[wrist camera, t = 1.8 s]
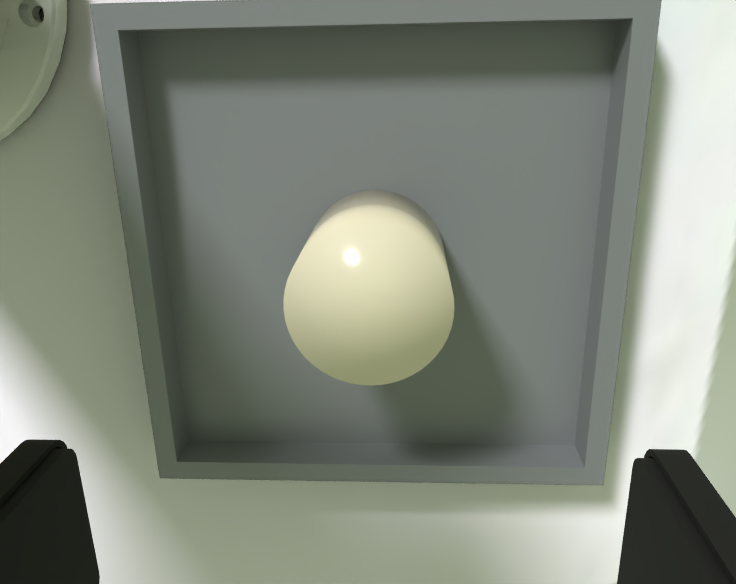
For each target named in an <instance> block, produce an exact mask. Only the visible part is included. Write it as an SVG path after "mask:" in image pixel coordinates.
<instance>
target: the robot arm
mask: <svg viewBox="0 0 736 584" xmlns="http://www.w3.org/2000/svg"><path fill="white" fill-rule="evenodd" d="M41 8H43V12H44V19H43V21H42V20H41V19H40V17H39V11H40V9H41ZM66 30H67V0H0V140H1V139H3V138H5V137H7V136H8V135H10V134H11V133H12V132H13V131H14V130H15V129H16V128H17V127H19V126H20V125H21V124H22V123H23V122H24V121H25V120H26V119H28V118H29V117H30V115H31V114H32V113H33V111H34V110H35V108H36V107H37V106H38V104H39V103H40V101H41V100H42V99H43V97H44V96H45V94H46V93H47V91H48V89H49V87H50V84H51V82H52V80H53V77H54V75H55V73H56V70H57V68H58V66H59V63H60V59H61V54H62V49H63V44H64V40H65V35H66ZM99 578H100V577H99V570H98V565H97V559H96V554H95V549H94V544H93V539H92V534H91V528H90V523H89V518H88V513H87V508H86V503H85V497H84V492H83V487H82V482H81V477H80V472H79V466H78V461H77V457H76V453H75V452H74V450H72V449H67V446H66V444H65V443H64V442H63V441H61V440H25V441H24V442H22V443H21V444H20V445H19V446H18V447H17V448H16V449H15V450H14V451H13V452H12V453H11V454H10V455H9V456H8V457H7V458H6V459H5V460H4V461H3V462H2V463H1V464H0V584H99ZM617 584H736V518H735V516H734V515H733V513H732V512H731V511H730V509H729V508H728V506H727V505H726V504H725V502H724V501H723V500H722V498H721V497H720V495H719V494H718V493H717V491H716V490H715V488H714V487H713V485H712V484H711V483H710V481H709V480H708V478H707V477H706V476H705V474H704V473H703V472H702V470H701V469H700V467H699V466H698V465H697V463H696V462H695V460H694V459H693V458H692V456H691V455H690V454H689V453H688V452H687V451H686V450H664V449H649V450H648V451H647V452H646V454H645V456H644V458H637V459H635V461H634V463H633V468H632V475H631V483H630V491H629V498H628V506H627V513H626V521H625V528H624V536H623V543H622V551H621V558H620V566H619V573H618V581H617Z"/></svg>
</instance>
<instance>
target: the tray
mask: <svg viewBox="0 0 736 584" xmlns="http://www.w3.org/2000/svg"><path fill="white" fill-rule="evenodd" d="M661 1H662V0H222V1H182V2H143V3H103V4H90V7H91V14H92V21H93V28H94V35H95V41H96V48H97V55H98V62H99V68H100V75H101V82H102V89H103V96H104V102H105V109H106V116H107V123H108V130H109V136H110V143H111V150H112V157H113V163H114V170H115V177H116V184H117V191H118V197H119V204H120V211H121V218H122V224H123V231H124V238H125V245H126V252H127V258H128V265H129V272H130V279H131V285H132V292H133V299H134V306H135V313H136V319H137V326H138V333H139V340H140V347H141V353H142V360H143V367H144V374H145V380H146V387H147V394H148V401H149V408H150V414H151V421H152V428H153V435H154V441H155V448H156V455H157V462H158V469H159V475H160V478H182V479H245V480H307V481H369V482H431V483H494V484H556V485H603V484H604V475H605V467H606V459H607V450H608V442H609V434H610V425H611V417H612V409H613V400H614V392H615V384H616V375H617V367H618V359H619V350H620V342H621V334H622V325H623V317H624V309H625V300H626V292H627V284H628V275H629V267H630V259H631V250H632V242H633V234H634V225H635V217H636V209H637V200H638V192H639V184H640V176H641V167H642V159H643V151H644V142H645V134H646V126H647V117H648V109H649V101H650V92H651V84H652V76H653V67H654V59H655V51H656V42H657V34H658V26H659V17H660V9H661ZM368 190H384V191H390V192H394V193H397V194H400V195H403V196H405V197H407V198H409V199H411V200H412V201H414V202H415V203H417V204H418V205H419V206H420V207H422V208H423V209H424V210H425V211H426V212H427V213H428V214H429V215H430V217H431V218H432V220H433V221H434V223H435V224H436V226H437V228H438V230H439V233H440V236H441V238H442V243H443V248H444V253H445V257H446V262H447V267H448V272H449V277H450V281H451V286H452V291H453V296H454V319H453V323H452V328H451V331H450V333H449V336H448V338H447V340H446V342H445V344H444V346H443V348H442V349H441V350H440V352H439V353H438V354H437V356H436V357H435V358H434V359H433V360H432V361H431V362H430V363H429V364H428V365H427V366H425V367H424V368H423V369H422V370H420V371H418V372H417V373H415V374H414V375H412V376H410V377H407V378H405V379H403V380H400V381H397V382H394V383H389V384H384V385H372V386H370V385H358V384H352V383H348V382H344V381H341V380H338V379H336V378H333V377H331V376H329V375H327V374H325V373H324V372H322V371H320V370H319V369H318V368H316V367H315V366H314V365H312V364H311V363H310V362H309V361H308V360H307V359H306V358H305V357H304V356H303V355H302V353H301V352H300V351H299V350H298V348H297V347H296V345H295V343H294V342H293V340H292V338H291V336H290V333H289V331H288V328H287V325H286V322H285V316H284V303H283V299H284V291H285V287H286V283H287V279H288V277H289V275H290V272H291V270H292V268H293V266H294V264H295V262H296V261H297V259H298V257H299V255H300V253H301V251H302V249H303V248H304V246H305V244H306V242H307V240H308V238H309V236H310V235H311V233H312V231H313V229H314V227H315V225H316V224H317V222H318V220H319V219H320V217H321V216H322V215H323V214H324V212H325V211H326V210H327V209H328V208H329V207H330V206H332V205H333V204H334V203H336V202H337V201H339V200H340V199H342V198H344V197H346V196H348V195H351V194H354V193H357V192H361V191H368Z"/></svg>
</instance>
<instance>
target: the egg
mask: <svg viewBox="0 0 736 584" xmlns="http://www.w3.org/2000/svg"><path fill="white" fill-rule="evenodd" d="M283 303H284V316H285V322H286V325H287V328H288V331H289V333H290V336H291V338H292V340H293V342H294V343H295V345H296V347H297V348H298V350H299V351H300V352H301V353H302V355H303V356H304V357H305V358H306V359H307V360H308V361H309V362H310V363H311V364H312V365H314V366H315V367H316V368H318V369H319V370H320V371H322V372H324V373H325V374H327V375H329V376H331V377H333V378H336V379H338V380H341V381H344V382H348V383H352V384H358V385H370V386H372V385H384V384H389V383H394V382H397V381H400V380H403V379H405V378H407V377H410V376H412V375H414V374H415V373H417V372H418V371H420V370H422V369H423V368H424V367H425V366H427V365H428V364H429V363H430V362H431V361H432V360H433V359H434V358H435V357H436V356H437V354H438V353H439V352H440V350H441V349H442V348H443V346H444V344H445V342H446V340H447V338H448V336H449V333H450V331H451V328H452V323H453V319H454V296H453V291H452V286H451V281H450V277H449V272H448V267H447V262H446V257H445V253H444V248H443V243H442V238H441V236H440V233H439V230H438V228H437V226H436V224H435V223H434V221H433V220H432V218H431V217H430V215H429V214H428V213H427V212H426V211H425V210H424V209H423V208H422V207H420V206H419V205H418V204H417V203H415V202H414V201H412V200H411V199H409V198H407V197H405V196H403V195H400V194H397V193H394V192H390V191H384V190H368V191H361V192H357V193H354V194H351V195H348V196H346V197H344V198H342V199H340V200H339V201H337V202H336V203H334V204H333V205H332V206H330V207H329V208H328V209H327V210H326V211H325V212H324V214H323V215H322V216H321V217H320V219H319V220H318V222H317V224H316V225H315V227H314V229H313V231H312V233H311V235H310V236H309V238H308V240H307V242H306V244H305V246H304V248H303V249H302V251H301V253H300V255H299V257H298V259H297V261H296V262H295V264H294V266H293V268H292V270H291V272H290V275H289V277H288V279H287V283H286V287H285V291H284V299H283Z"/></svg>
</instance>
